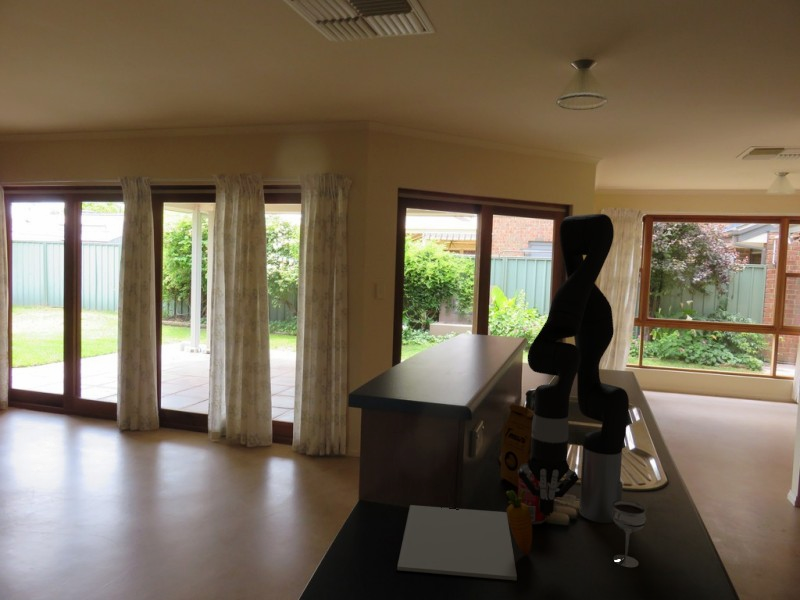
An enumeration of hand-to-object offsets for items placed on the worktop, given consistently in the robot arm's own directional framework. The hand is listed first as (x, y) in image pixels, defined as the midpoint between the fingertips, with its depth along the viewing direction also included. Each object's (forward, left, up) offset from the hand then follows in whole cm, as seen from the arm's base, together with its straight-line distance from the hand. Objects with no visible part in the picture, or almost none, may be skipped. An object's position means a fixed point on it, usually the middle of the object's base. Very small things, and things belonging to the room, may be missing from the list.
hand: (545, 514), depth 122 cm
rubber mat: (+18, -4, -10) cm, 21 cm away
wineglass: (-18, -1, -10) cm, 20 cm away
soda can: (0, -17, -10) cm, 20 cm away
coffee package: (0, -38, -10) cm, 39 cm away
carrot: (+3, 0, -10) cm, 10 cm away
